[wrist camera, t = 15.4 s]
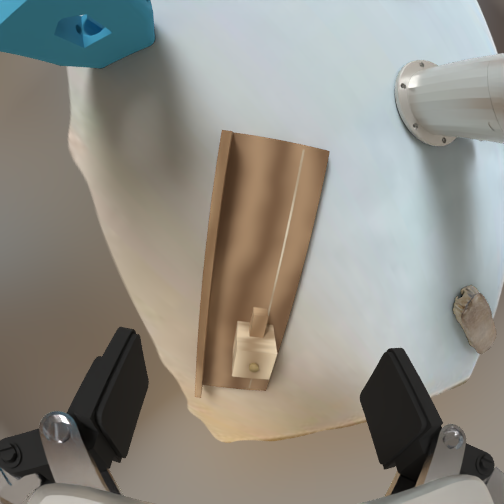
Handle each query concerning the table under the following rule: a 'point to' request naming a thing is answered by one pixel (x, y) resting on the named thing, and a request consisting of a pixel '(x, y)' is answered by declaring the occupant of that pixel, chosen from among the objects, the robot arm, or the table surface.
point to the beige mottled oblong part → (475, 319)
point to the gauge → (254, 347)
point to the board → (254, 245)
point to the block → (76, 30)
